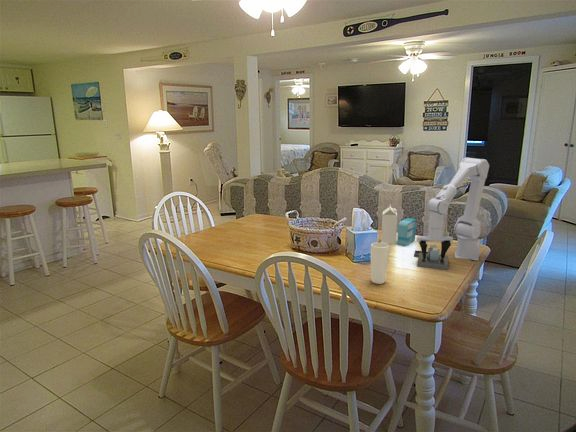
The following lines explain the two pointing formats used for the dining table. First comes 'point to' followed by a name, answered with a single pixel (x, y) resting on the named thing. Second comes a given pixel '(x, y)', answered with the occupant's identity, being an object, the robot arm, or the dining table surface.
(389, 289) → the dining table surface
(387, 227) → the milk carton
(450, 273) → the dining table surface
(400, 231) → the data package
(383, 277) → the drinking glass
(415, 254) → the square shadow box
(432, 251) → the plug
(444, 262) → the port block
